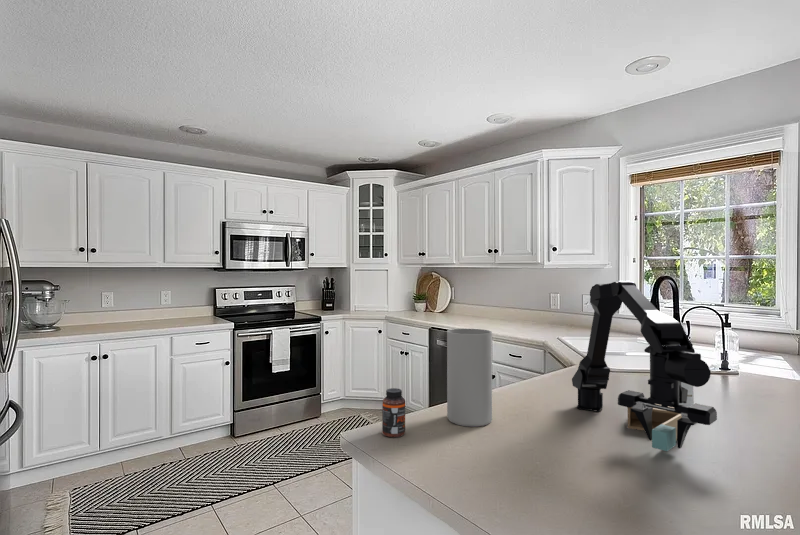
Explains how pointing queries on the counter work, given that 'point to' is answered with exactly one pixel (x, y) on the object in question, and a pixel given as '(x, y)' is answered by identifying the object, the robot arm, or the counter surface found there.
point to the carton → (657, 418)
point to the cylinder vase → (469, 377)
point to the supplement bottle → (393, 413)
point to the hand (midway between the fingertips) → (664, 443)
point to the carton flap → (665, 434)
